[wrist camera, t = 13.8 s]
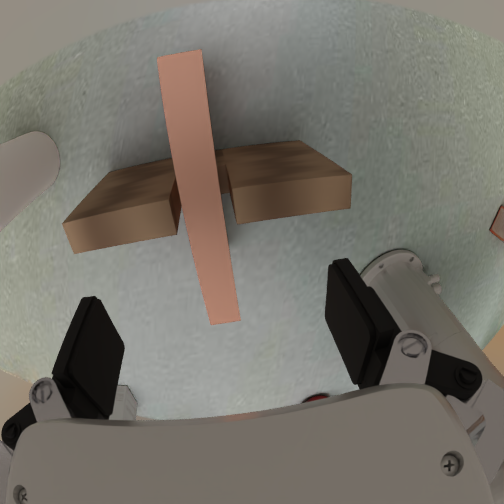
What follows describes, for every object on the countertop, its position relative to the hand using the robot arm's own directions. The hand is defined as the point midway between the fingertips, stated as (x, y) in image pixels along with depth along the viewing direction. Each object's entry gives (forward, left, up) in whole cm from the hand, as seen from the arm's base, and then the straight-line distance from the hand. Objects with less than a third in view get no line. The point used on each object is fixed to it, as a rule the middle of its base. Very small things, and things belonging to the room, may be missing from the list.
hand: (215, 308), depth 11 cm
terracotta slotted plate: (0, 0, -21) cm, 21 cm away
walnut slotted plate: (0, 0, -21) cm, 21 cm away
